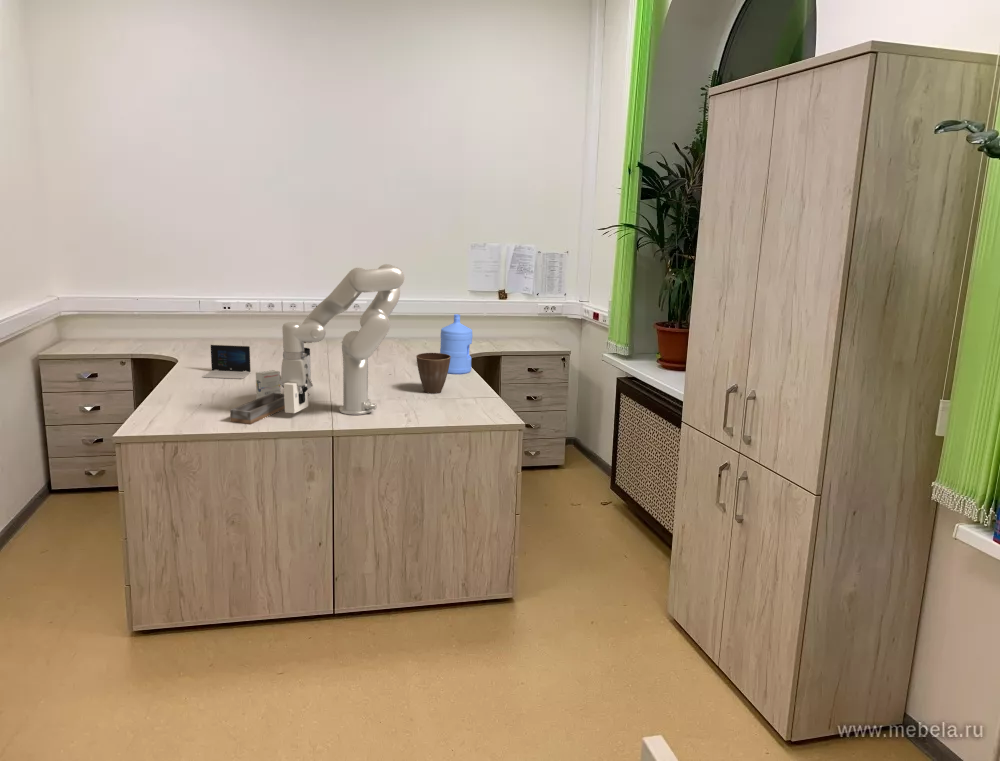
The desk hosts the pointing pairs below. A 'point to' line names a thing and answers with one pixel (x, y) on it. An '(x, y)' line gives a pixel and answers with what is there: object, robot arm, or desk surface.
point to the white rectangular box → (293, 398)
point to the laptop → (229, 362)
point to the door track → (258, 409)
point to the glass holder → (307, 359)
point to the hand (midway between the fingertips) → (296, 402)
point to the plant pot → (433, 371)
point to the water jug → (457, 346)
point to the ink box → (267, 383)
